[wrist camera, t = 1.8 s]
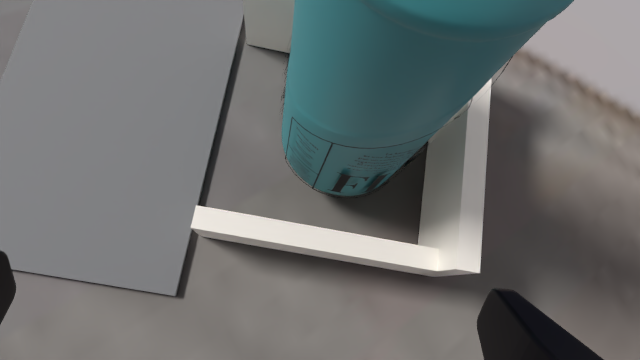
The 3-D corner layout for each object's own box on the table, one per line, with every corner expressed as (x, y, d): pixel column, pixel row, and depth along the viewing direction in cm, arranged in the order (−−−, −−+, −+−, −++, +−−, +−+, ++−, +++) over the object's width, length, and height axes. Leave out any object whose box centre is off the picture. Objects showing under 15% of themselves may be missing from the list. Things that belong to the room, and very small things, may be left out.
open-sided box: (433, 276, 22) (492, 272, 16) (201, 236, 21) (176, 216, 15) (451, 71, 25) (506, 6, 19) (250, 29, 24) (244, -53, 19)
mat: (176, 295, 20) (174, 296, 20) (-66, 256, 20) (-71, 255, 19) (252, -17, 25) (252, -21, 25) (61, -59, 24) (58, -64, 24)
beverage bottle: (309, 227, 22) (609, -226, 3) (256, 116, 23) (202, -753, 4) (416, 177, 23) (1121, -359, 4) (362, 74, 24) (708, -718, 5)
